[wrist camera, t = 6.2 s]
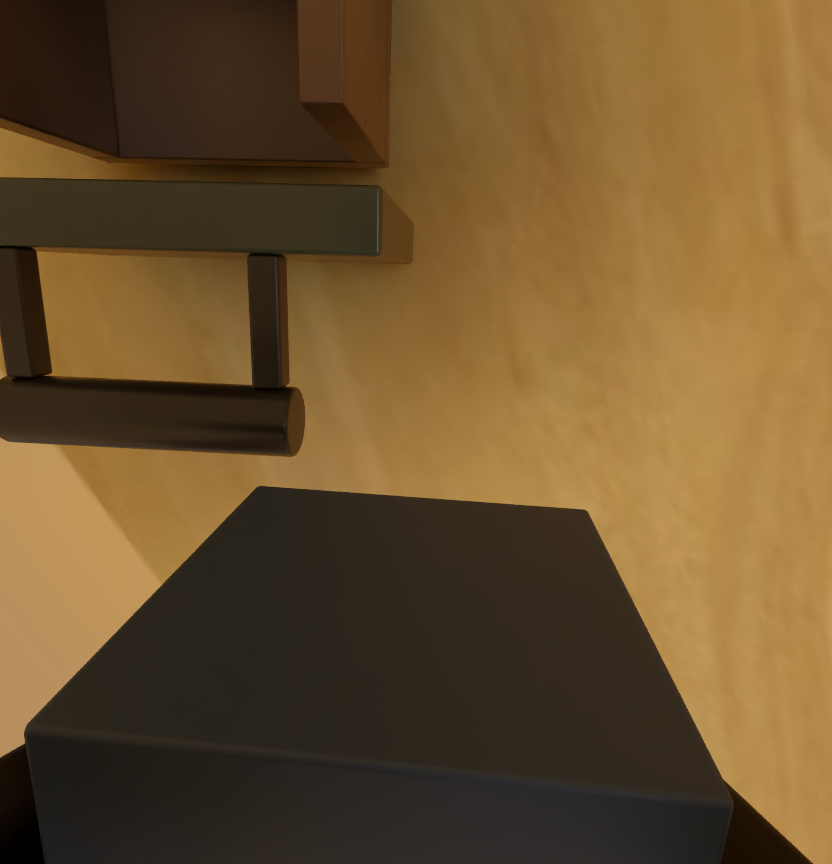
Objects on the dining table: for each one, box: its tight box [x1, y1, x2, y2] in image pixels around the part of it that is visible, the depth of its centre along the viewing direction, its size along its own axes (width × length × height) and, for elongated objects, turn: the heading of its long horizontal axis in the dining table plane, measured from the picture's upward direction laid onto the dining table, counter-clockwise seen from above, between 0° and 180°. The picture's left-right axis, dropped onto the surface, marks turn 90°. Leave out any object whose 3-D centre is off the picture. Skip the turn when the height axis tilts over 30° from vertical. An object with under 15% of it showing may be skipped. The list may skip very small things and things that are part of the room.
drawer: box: [0, 0, 414, 457], centre depth 13 cm, size 16×9×7 cm, turn 178°
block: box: [24, 486, 733, 864], centre depth 7 cm, size 5×5×5 cm
